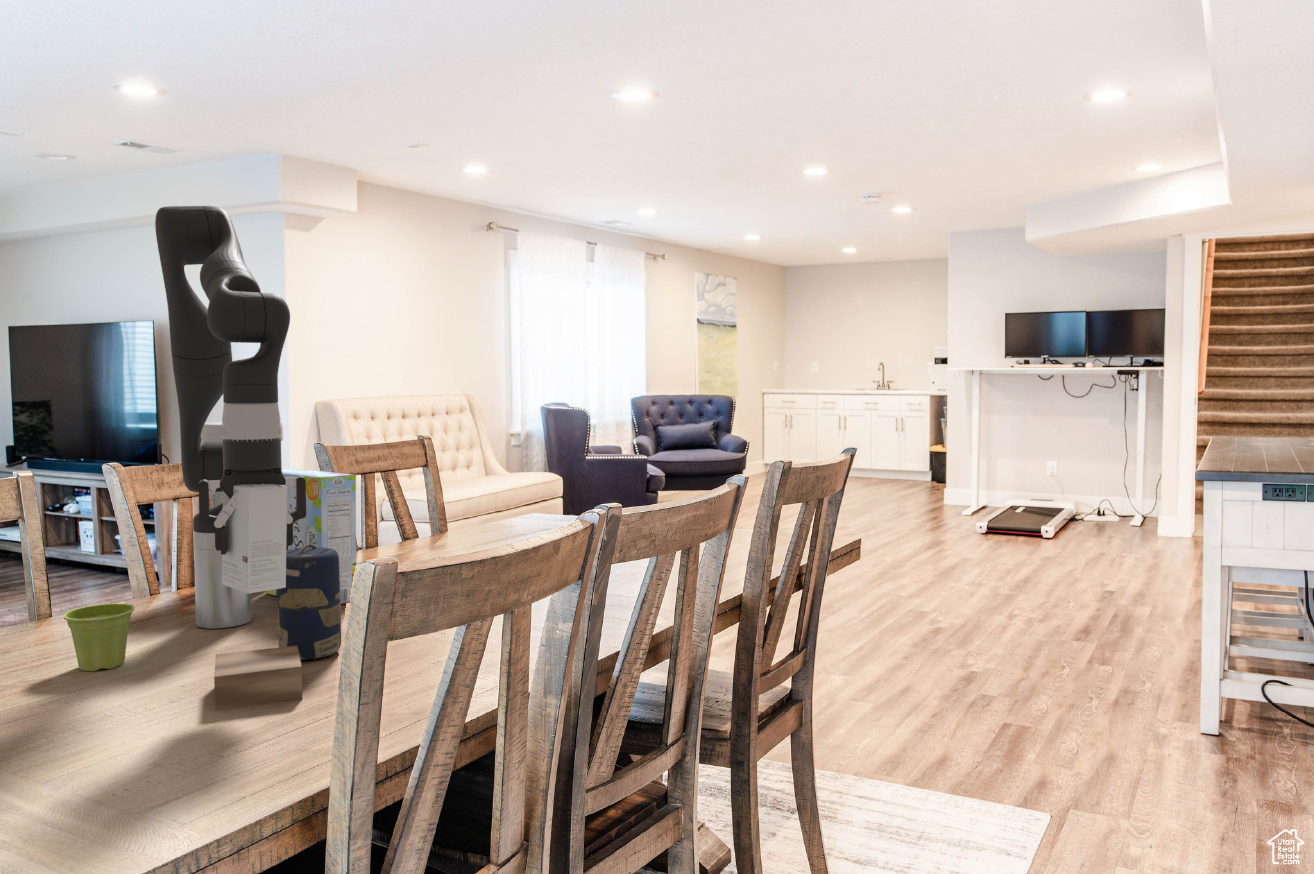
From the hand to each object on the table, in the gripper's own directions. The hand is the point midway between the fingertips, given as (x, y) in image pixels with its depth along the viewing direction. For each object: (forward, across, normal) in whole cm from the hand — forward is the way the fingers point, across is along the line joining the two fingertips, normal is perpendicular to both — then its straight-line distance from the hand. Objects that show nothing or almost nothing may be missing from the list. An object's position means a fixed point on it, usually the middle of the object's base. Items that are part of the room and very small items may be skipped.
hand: (254, 551), depth 131 cm
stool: (+21, +1, -75) cm, 78 cm away
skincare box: (+5, 0, 0) cm, 5 cm away
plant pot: (+21, +22, -23) cm, 38 cm away
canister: (+21, -8, -16) cm, 27 cm away
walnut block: (+21, 0, 0) cm, 21 cm away
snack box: (+21, -11, -57) cm, 62 cm away
